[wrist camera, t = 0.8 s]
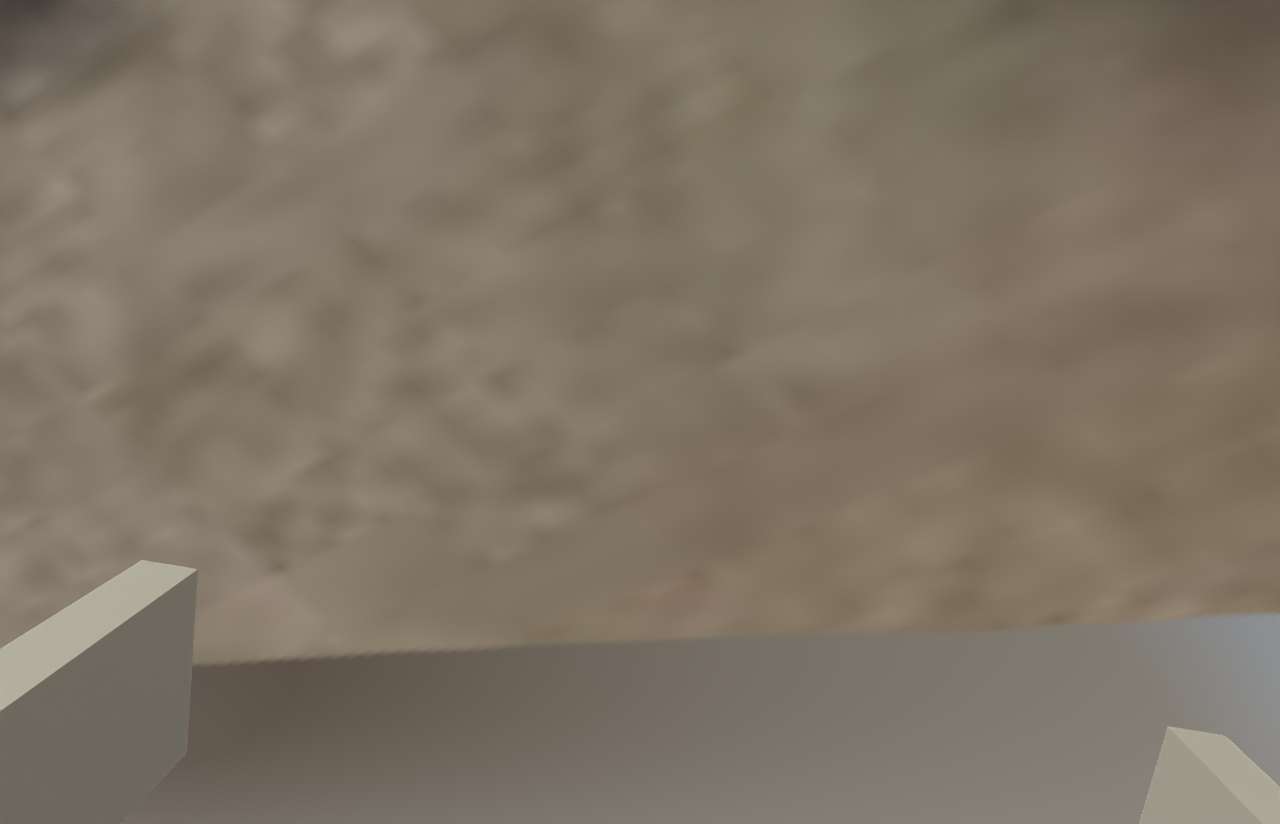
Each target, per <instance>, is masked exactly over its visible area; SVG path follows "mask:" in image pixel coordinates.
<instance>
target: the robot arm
mask: <svg viewBox="0 0 1280 824" xmlns="http://www.w3.org/2000/svg"><path fill="white" fill-rule="evenodd" d="M197 574H198V569H193V568H187V567H181V566H175V565H169V564H162V563H156V562H150V561H144V560H141V561H140V562H138V563H136V564H135V565H133V566H132V567H130V568H128V569H127V570H125V571H124V572H122V573H120V574H119V575H117V576H116V577H114V578H112V579H111V580H109V581H108V582H106V583H105V584H103V585H101V586H100V587H98V588H97V589H95V590H93V591H92V592H90V593H89V594H87V595H85V596H84V597H82V598H81V599H79V600H77V601H76V602H74V603H73V604H71V605H69V606H68V607H66V608H65V609H63V610H61V611H60V612H58V613H57V614H55V615H53V616H52V617H50V618H49V619H47V620H45V621H44V622H42V623H41V624H39V625H37V626H36V627H34V628H33V629H31V630H29V631H28V632H26V633H25V634H23V635H22V636H20V637H18V638H17V639H15V640H14V641H12V642H10V643H9V644H7V645H6V646H4V647H2V648H1V649H0V824H121V823H122V822H123V821H124V819H125V818H126V817H127V816H128V815H129V814H130V813H131V812H132V811H133V810H134V809H135V808H136V807H137V805H138V804H139V803H140V802H141V801H142V800H143V799H144V798H145V797H146V796H147V795H148V794H149V793H150V792H151V790H152V789H153V788H154V787H155V786H156V785H157V784H158V783H159V782H160V781H161V780H162V779H163V777H164V776H165V775H166V774H167V773H168V772H169V771H170V770H171V769H172V768H173V767H174V766H175V765H176V764H177V762H178V761H179V760H180V759H181V758H182V757H183V756H184V755H185V754H186V753H187V737H188V721H189V705H190V687H191V672H192V656H193V639H194V623H195V607H196V590H197ZM1139 824H1280V787H1279V786H1278V785H1277V784H1276V783H1275V782H1274V781H1273V780H1272V779H1271V778H1270V777H1269V776H1268V775H1267V774H1265V773H1264V772H1263V771H1262V770H1261V769H1260V768H1259V767H1258V766H1257V765H1256V764H1255V763H1254V762H1253V761H1252V760H1250V759H1249V758H1248V757H1247V756H1246V755H1245V754H1244V753H1243V752H1242V751H1241V750H1240V749H1239V748H1238V747H1236V746H1235V745H1234V744H1233V743H1232V742H1231V741H1230V740H1229V739H1228V738H1227V737H1226V736H1224V735H1218V734H1211V733H1206V732H1199V731H1193V730H1187V729H1181V728H1175V727H1168V728H1167V731H1166V734H1165V738H1164V741H1163V745H1162V748H1161V751H1160V755H1159V758H1158V761H1157V765H1156V768H1155V771H1154V775H1153V778H1152V782H1151V785H1150V789H1149V792H1148V795H1147V799H1146V802H1145V805H1144V809H1143V812H1142V815H1141V819H1140V822H1139Z"/></svg>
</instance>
